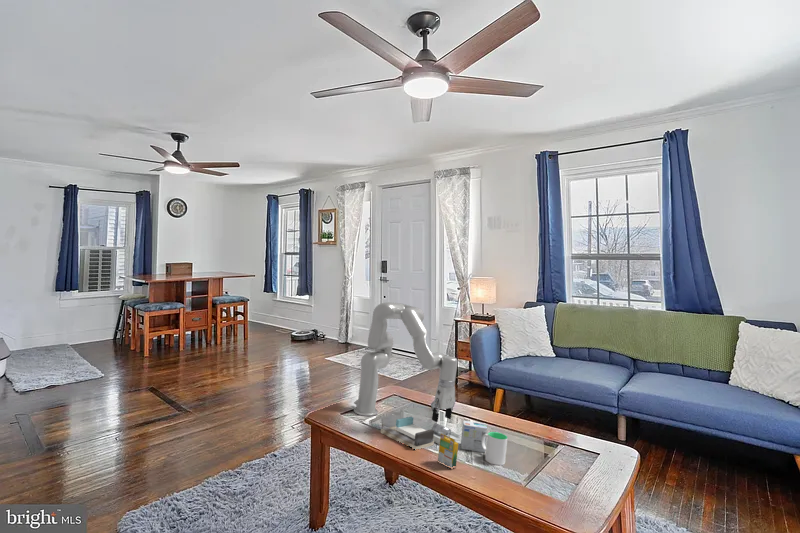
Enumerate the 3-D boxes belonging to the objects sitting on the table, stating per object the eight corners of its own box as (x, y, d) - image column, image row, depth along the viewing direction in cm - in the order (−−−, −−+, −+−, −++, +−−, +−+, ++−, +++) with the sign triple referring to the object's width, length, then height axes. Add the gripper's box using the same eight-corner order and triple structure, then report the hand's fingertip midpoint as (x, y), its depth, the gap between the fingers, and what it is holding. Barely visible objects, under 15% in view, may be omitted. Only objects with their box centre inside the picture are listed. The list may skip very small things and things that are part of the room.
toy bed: (394, 434, 177) (396, 419, 177) (409, 430, 184) (411, 416, 184) (414, 444, 168) (416, 428, 169) (428, 439, 175) (430, 425, 175)
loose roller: (431, 433, 186) (432, 423, 186) (437, 431, 189) (438, 422, 189) (444, 439, 180) (445, 429, 180) (450, 437, 183) (451, 428, 183)
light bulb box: (483, 447, 179) (486, 423, 180) (485, 453, 172) (488, 428, 173) (460, 443, 180) (462, 419, 181) (460, 449, 174) (463, 424, 174)
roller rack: (421, 435, 184) (422, 430, 184) (440, 430, 193) (440, 425, 193) (441, 445, 175) (442, 439, 175) (459, 439, 185) (460, 434, 185)
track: (380, 432, 182) (382, 418, 182) (398, 428, 190) (400, 414, 190) (415, 450, 166) (417, 434, 166) (433, 445, 174) (435, 430, 175)
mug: (474, 454, 170) (476, 429, 170) (486, 451, 174) (489, 427, 175) (496, 466, 160) (499, 440, 160) (508, 463, 165) (511, 437, 165)
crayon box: (456, 468, 154) (459, 438, 154) (451, 470, 152) (454, 439, 152) (442, 461, 159) (445, 431, 160) (437, 462, 157) (440, 433, 158)
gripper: (441, 387, 177) (435, 425, 176) (463, 383, 189) (458, 419, 188) (428, 382, 182) (423, 419, 182) (451, 379, 194) (446, 414, 194)
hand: (441, 419), depth 185 cm, fingers open, 9 cm apart
